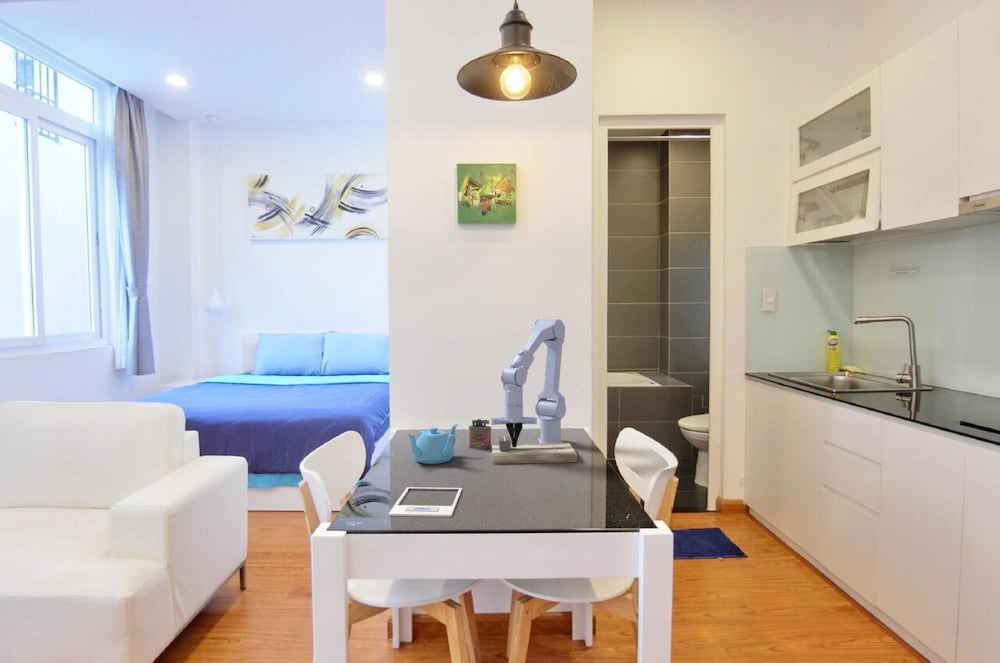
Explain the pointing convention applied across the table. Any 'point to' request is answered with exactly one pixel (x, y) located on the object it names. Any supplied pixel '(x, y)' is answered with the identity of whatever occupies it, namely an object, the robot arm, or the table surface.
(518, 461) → the console board
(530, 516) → the table surface
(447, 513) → the photo frame
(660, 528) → the table surface
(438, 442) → the teapot
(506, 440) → the fader
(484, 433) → the lighter
